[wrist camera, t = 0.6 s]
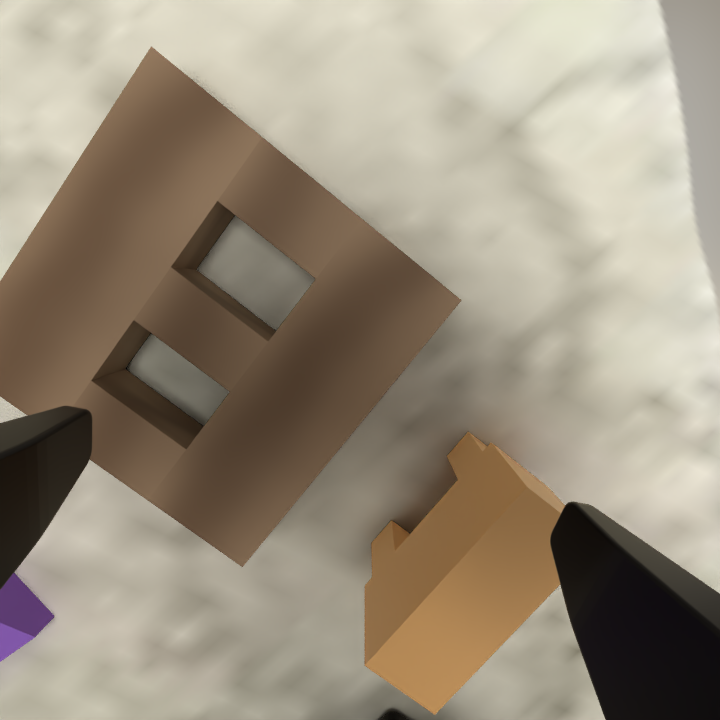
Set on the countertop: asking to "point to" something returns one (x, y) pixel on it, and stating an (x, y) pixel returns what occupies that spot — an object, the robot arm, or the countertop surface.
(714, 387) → the countertop surface
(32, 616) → the bracket
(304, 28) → the countertop surface
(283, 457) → the brown slotted square board
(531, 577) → the tan wooden block
